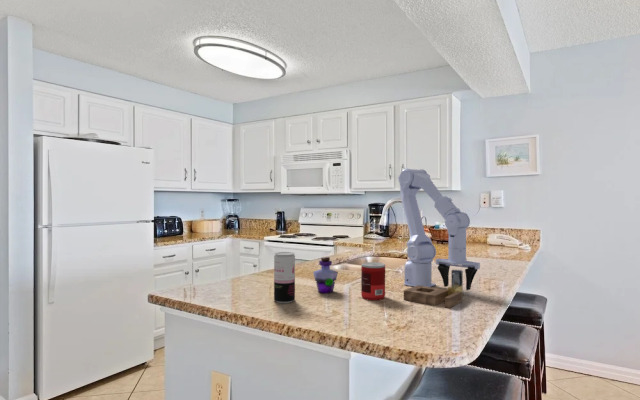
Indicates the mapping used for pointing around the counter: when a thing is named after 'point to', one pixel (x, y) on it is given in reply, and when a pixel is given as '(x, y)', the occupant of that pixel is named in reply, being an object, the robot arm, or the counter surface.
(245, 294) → the counter surface
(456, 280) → the peg
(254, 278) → the counter surface
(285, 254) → the beverage can
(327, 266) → the potion bottle
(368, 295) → the canned food
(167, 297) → the counter surface
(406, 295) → the mount
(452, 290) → the khaki rectangular plank
